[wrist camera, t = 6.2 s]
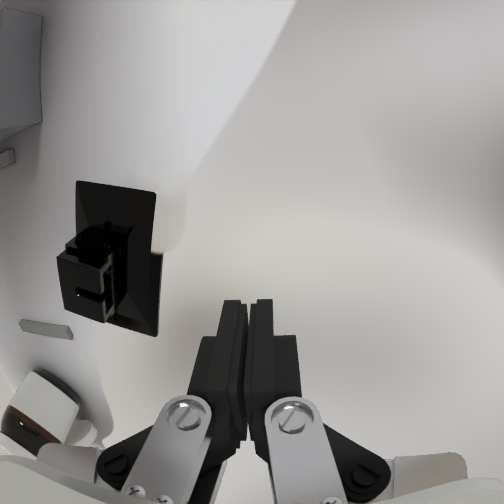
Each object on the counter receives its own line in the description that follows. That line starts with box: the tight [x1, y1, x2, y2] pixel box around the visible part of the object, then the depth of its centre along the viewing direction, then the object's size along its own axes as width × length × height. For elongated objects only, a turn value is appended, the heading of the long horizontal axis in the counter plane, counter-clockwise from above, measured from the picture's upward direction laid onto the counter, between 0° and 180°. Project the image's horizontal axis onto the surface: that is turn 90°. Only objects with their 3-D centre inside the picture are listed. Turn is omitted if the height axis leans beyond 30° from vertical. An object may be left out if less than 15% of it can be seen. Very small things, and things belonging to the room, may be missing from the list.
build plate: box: [56, 181, 164, 337], centre depth 15 cm, size 12×7×5 cm, turn 167°
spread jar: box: [0, 368, 97, 460], centre depth 21 cm, size 12×11×12 cm
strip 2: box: [19, 319, 73, 340], centre depth 20 cm, size 1×7×1 cm, turn 93°
